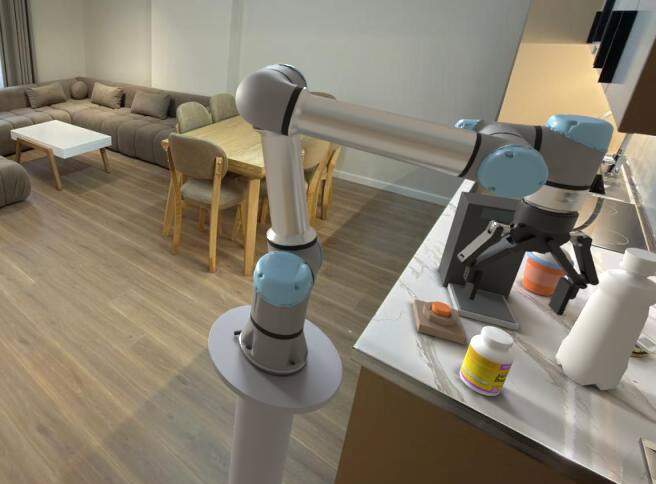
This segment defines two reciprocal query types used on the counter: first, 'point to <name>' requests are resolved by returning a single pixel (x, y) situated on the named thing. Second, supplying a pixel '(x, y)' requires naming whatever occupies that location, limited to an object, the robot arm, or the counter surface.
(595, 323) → the bottle
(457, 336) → the control block
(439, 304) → the button
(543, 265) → the cup with straw
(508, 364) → the supplement bottle
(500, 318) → the coffee maker
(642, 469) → the counter surface
